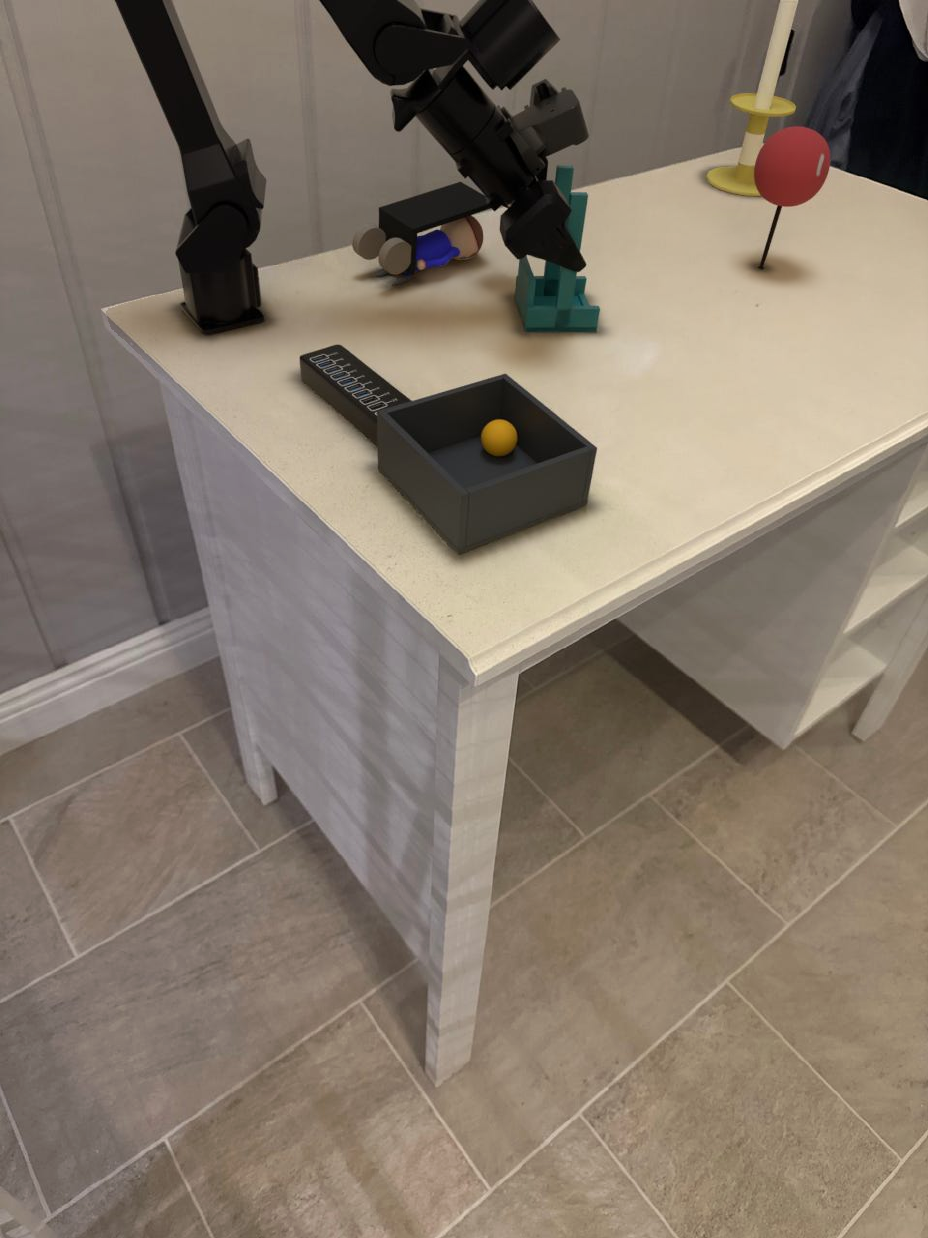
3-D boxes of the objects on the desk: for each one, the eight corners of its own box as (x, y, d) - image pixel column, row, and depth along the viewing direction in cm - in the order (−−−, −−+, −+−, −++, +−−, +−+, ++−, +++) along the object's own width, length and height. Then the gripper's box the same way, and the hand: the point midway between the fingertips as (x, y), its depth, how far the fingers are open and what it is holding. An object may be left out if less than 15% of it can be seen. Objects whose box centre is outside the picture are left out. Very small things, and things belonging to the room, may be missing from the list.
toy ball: (476, 450, 77) (481, 414, 76) (511, 453, 78) (516, 417, 77) (481, 458, 75) (486, 421, 73) (517, 461, 75) (523, 425, 74)
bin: (458, 555, 68) (462, 495, 64) (377, 469, 75) (376, 410, 71) (586, 505, 73) (597, 447, 69) (500, 429, 80) (505, 372, 76)
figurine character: (392, 310, 97) (497, 260, 103) (385, 241, 92) (497, 193, 98) (355, 286, 101) (459, 239, 107) (346, 218, 95) (456, 173, 101)
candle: (766, 201, 121) (836, -47, 102) (695, 183, 125) (750, -61, 106) (788, 179, 128) (857, -58, 109) (720, 163, 131) (775, -71, 112)
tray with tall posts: (524, 332, 93) (540, 194, 83) (514, 298, 98) (527, 164, 88) (596, 331, 94) (619, 195, 84) (581, 298, 99) (602, 165, 89)
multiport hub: (340, 364, 86) (339, 342, 85) (431, 439, 78) (432, 415, 77) (299, 378, 84) (297, 355, 83) (388, 455, 76) (388, 431, 75)
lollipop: (723, 274, 105) (760, 132, 94) (735, 248, 110) (771, 111, 99) (790, 288, 103) (836, 146, 93) (799, 262, 108) (843, 124, 98)
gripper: (560, 91, 72) (667, 233, 81) (523, 29, 85) (618, 157, 94) (456, 193, 77) (568, 317, 86) (436, 120, 90) (535, 234, 99)
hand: (574, 251), depth 91 cm, fingers closed on tray with tall posts, 7 cm apart
